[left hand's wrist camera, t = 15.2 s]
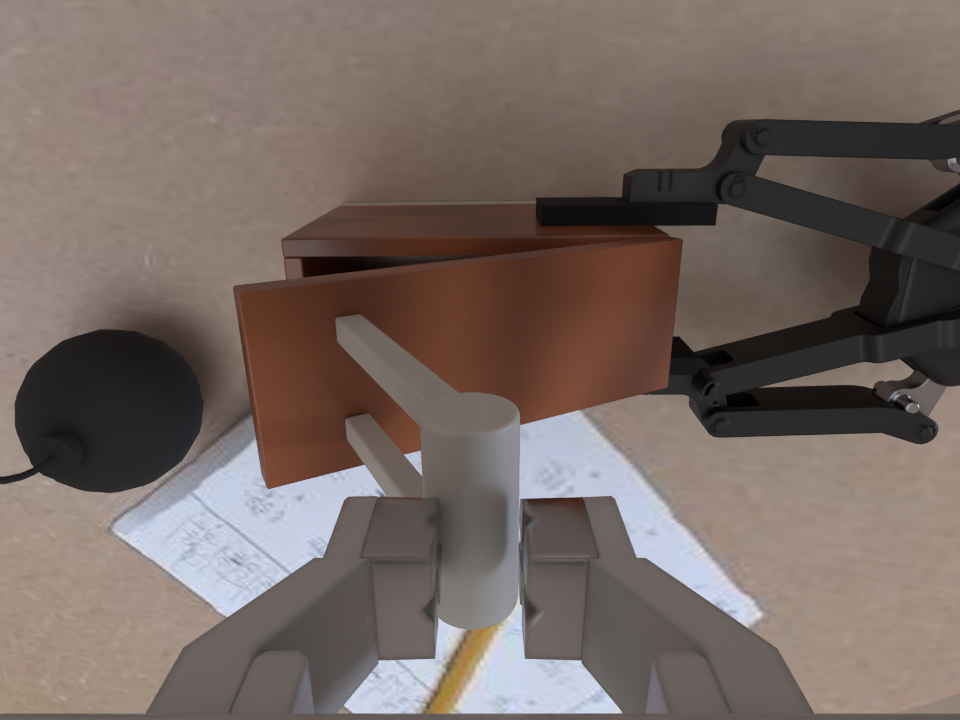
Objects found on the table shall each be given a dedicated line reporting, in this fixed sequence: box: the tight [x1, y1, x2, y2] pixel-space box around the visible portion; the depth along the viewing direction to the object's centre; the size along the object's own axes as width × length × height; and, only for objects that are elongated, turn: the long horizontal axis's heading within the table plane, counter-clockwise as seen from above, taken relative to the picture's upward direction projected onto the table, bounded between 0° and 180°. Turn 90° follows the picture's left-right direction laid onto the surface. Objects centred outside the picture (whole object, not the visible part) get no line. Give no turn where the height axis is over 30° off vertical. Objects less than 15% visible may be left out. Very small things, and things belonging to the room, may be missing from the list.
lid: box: [233, 236, 683, 629], centre depth 16 cm, size 14×5×9 cm, turn 91°
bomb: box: [0, 329, 203, 493], centre depth 29 cm, size 8×8×12 cm
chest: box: [281, 201, 669, 280], centre depth 27 cm, size 13×5×10 cm, turn 91°
